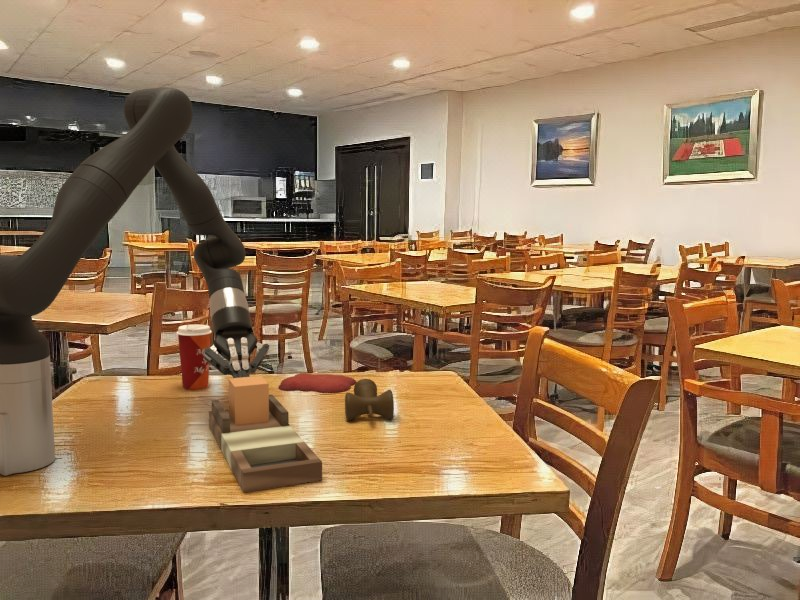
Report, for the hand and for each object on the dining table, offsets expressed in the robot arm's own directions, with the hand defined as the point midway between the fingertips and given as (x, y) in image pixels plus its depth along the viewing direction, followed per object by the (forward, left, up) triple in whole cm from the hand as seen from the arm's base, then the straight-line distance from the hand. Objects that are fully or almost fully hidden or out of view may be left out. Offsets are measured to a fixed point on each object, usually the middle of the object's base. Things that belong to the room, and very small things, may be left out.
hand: (243, 390), depth 126 cm
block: (-2, -3, -4) cm, 6 cm away
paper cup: (+16, +30, -7) cm, 34 cm away
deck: (-7, -10, -7) cm, 15 cm away
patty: (+33, +8, -8) cm, 35 cm away
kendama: (+21, -14, -8) cm, 26 cm away
